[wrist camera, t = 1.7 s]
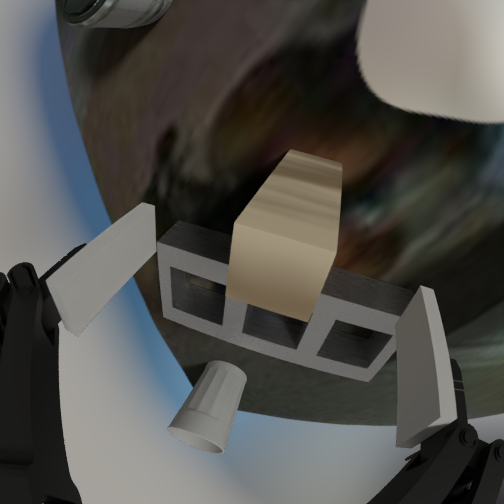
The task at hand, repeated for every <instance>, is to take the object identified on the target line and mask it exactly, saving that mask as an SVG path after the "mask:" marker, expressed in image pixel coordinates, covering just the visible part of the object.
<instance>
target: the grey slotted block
mask: <svg viewBox="0 0 504 504" xmlns="http://www.w3.org/2000/svg"><path fill="white" fill-rule="evenodd" d="M232 237H233V236H232V235H228V234H225V233H222V232H218V231H215V230H211V229H208V228H204V227H201V226H198V225H194V224H191V223H187V222H184V221H180V220H179V221H178V222H176V223H175V224H174V225H173V226H172V227H171V228H170V229H169V230H168V231H167V232H166V233H165V234H164V235H163V236H162V237H161V238H160V239H159V240H158V241H157V252H158V266H159V278H160V289H161V299H162V309H163V317H165V318H167V319H170V320H172V321H175V322H177V323H179V324H182V325H185V326H187V327H190V328H192V329H195V330H197V331H200V332H203V333H205V334H208V335H211V336H213V337H216V338H219V339H222V340H224V341H227V342H230V343H233V344H236V345H239V346H242V347H245V348H248V349H251V350H254V351H257V352H260V353H263V354H266V355H269V356H272V357H276V358H279V359H282V360H285V361H289V362H292V363H296V364H299V365H303V366H306V367H310V368H313V369H317V370H321V371H324V372H328V373H332V374H336V375H340V376H344V377H348V378H352V379H357V380H361V381H365V382H369V381H370V380H371V379H372V378H373V376H374V375H375V374H376V373H377V372H378V371H379V370H380V368H381V367H382V366H383V365H384V364H385V363H386V361H387V360H388V359H389V358H390V357H391V355H392V354H393V353H394V352H395V351H396V333H395V324H396V323H397V322H398V320H399V319H400V317H401V316H402V314H403V312H404V311H405V309H406V308H407V306H408V305H409V303H410V302H411V300H412V298H413V297H414V296H413V291H412V290H409V289H406V288H403V287H400V286H396V285H393V284H390V283H387V282H384V281H380V280H377V279H374V278H371V277H367V276H364V275H361V274H358V273H354V272H351V271H348V270H345V269H341V268H338V267H335V266H331V268H330V271H329V273H328V276H327V278H326V281H325V283H324V286H323V288H322V291H321V293H320V295H319V298H318V300H317V303H316V305H315V307H314V310H313V312H312V314H311V317H310V319H309V321H308V322H305V321H302V320H298V319H295V318H292V317H288V316H285V315H282V314H279V313H276V312H272V311H269V310H266V309H263V308H260V307H257V306H254V305H250V304H247V303H244V302H241V301H238V300H235V299H232V298H229V297H226V296H225V295H222V294H219V293H216V292H213V291H210V290H207V289H204V288H202V287H199V286H196V285H193V284H190V283H189V273H191V274H194V275H197V276H200V277H203V278H206V279H208V280H211V281H214V282H217V283H220V284H223V285H227V277H228V269H229V261H230V253H231V245H232ZM335 320H339V321H343V322H346V323H350V324H354V325H357V326H361V327H364V328H368V329H372V330H374V332H373V333H372V334H371V336H370V337H369V339H367V338H363V337H359V336H356V335H352V334H348V333H345V332H341V331H338V330H334V329H331V328H332V326H333V324H334V322H335Z"/></svg>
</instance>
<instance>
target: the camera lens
mask: <svg viewBox="0 0 504 504" xmlns="http://www.w3.org/2000/svg"><path fill="white" fill-rule="evenodd" d="M172 1H173V0H60V9H61V14H62V16H63V18H64V20H65V21H66V22H67V23H68V24H69V25H71V26H73V27H108V28H132V27H140V26H144V25H148V24H151V23H152V22H155V21H156V20H158V19H159V18H160V17H162V15H163V14H165V12H166V11H167V10H168V8H169V7H170V6H171V3H172Z"/></svg>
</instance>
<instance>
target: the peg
mask: <svg viewBox="0 0 504 504" xmlns="http://www.w3.org/2000/svg"><path fill="white" fill-rule="evenodd" d="M341 187H342V163H339V162H335V161H332V160H328V159H325V158H321V157H318V156H314V155H311V154H307V153H303V152H299V151H295V150H292V149H290V150H289V152H288V153H287V154H286V155H285V157H284V158H283V159H282V160H281V162H280V163H279V164H278V166H277V167H276V168H275V170H274V171H273V172H272V173H271V175H270V176H269V177H268V179H267V180H266V181H265V183H264V184H263V185H262V186H261V188H260V189H259V190H258V192H257V193H256V194H255V196H254V197H253V198H252V200H251V201H250V202H249V204H248V205H247V206H246V208H245V209H244V210H243V212H242V213H241V214H240V216H239V217H238V218H237V220H236V221H235V222H234V229H233V237H232V245H231V253H230V261H229V269H228V277H227V285H226V294H225V296H226V297H229V298H232V299H235V300H238V301H241V302H244V303H247V304H250V305H254V306H257V307H260V308H263V309H266V310H269V311H272V312H276V313H279V314H282V315H285V316H288V317H292V318H295V319H298V320H302V321H305V322H308V321H309V319H310V317H311V314H312V312H313V310H314V307H315V305H316V303H317V300H318V298H319V295H320V293H321V291H322V288H323V286H324V283H325V281H326V278H327V276H328V273H329V271H330V268H331V266H332V263H333V261H334V258H335V255H336V253H337V242H338V231H339V218H340V204H341Z"/></svg>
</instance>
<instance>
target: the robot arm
mask: <svg viewBox="0 0 504 504" xmlns="http://www.w3.org/2000/svg"><path fill="white" fill-rule="evenodd" d="M155 252H156V231H155V206H154V205H150V204H146V203H143V202H142V203H141V204H140V205H138V206H137V207H135V208H134V209H133V210H131V211H130V212H129V213H127V214H126V215H125V216H123V217H122V218H121V219H119V220H118V221H117V222H115V223H114V224H113V225H111V226H110V227H109V228H108V229H106V230H105V231H104V232H102V233H101V234H100V235H98V236H97V237H96V238H95V239H93V240H92V241H91V242H90V243H89V244H85V243H84V244H82V245H80V246H78V247H76V248H74V249H73V250H72V251H70V252H69V253H68V254H67V256H65V257H63V258H62V259H61V261H58V262H57V263H56V264H55V265H54V266H53V267H51V268H50V269H49V270H48V271H47V272H46V273H45V274H44V275H42V276H41V277H40V278H39V279H38V277H37V274H36V271H35V269H34V266H33V265H32V264H31V263H28V262H23V263H19V264H17V265H15V266H14V267H12V268H11V269H10V270H9V272H8V274H7V276H8V279H9V281H10V283H9V282H8V280H7V278H6V276H5V274H4V273H1V272H0V504H82V501H81V497H80V494H79V491H78V489H77V487H76V486H75V484H74V483H73V481H72V479H71V476H70V473H69V468H68V462H67V457H66V451H65V445H64V437H63V429H62V420H61V409H60V395H59V370H58V369H59V365H58V364H59V363H58V361H59V359H58V358H59V355H58V354H59V352H58V351H59V327H58V323H59V322H60V321H61V320H62V322H63V324H64V326H65V328H66V329H67V330H68V331H70V332H71V333H73V334H74V335H76V336H79V335H80V334H81V332H82V331H83V330H84V329H85V328H86V327H87V326H88V324H89V323H90V322H91V321H92V320H93V319H94V317H95V316H96V315H97V314H98V313H99V312H100V311H101V310H102V308H103V307H104V306H105V305H106V304H107V303H108V302H109V301H110V300H111V298H112V297H113V296H114V295H115V294H116V293H117V292H118V291H119V290H120V289H121V288H122V287H123V285H124V284H125V283H126V282H127V281H128V280H129V279H130V278H131V277H132V276H133V275H134V274H135V273H136V272H137V271H138V270H139V269H140V267H141V266H142V265H143V264H144V263H145V262H146V261H147V260H148V259H149V258H150V257H151V256H152V255H153V254H154V253H155ZM395 333H396V349H397V376H398V408H397V435H396V447H402V448H413V447H414V446H416V445H418V444H420V443H421V449H420V450H419V451H418V452H416V453H414V454H412V455H410V456H409V457H407V458H406V459H405V460H406V461H407V460H409V459H411V460H410V461H409V462H408V463H407V464H406V465H405V466H404V467H403V468H402V470H401V471H400V472H399V473H398V474H397V475H396V476H395V477H394V478H393V479H392V480H391V481H390V482H389V483H388V484H387V485H386V486H385V487H384V488H383V489H382V490H381V491H380V492H379V493H378V494H377V495H376V496H375V497H374V498H373V499H372V500H371V501H369V502H368V503H367V504H495V503H496V500H497V497H498V494H499V491H500V488H501V485H502V482H503V478H504V441H503V440H501V439H498V440H495V441H494V442H492V443H490V444H488V443H486V442H484V441H482V440H480V439H478V435H477V431H476V430H475V429H474V427H473V426H471V425H470V424H468V421H467V411H466V403H465V395H464V392H463V390H464V388H463V383H462V375H461V370H460V368H459V366H458V364H457V362H456V360H454V359H450V358H449V353H448V348H447V343H446V338H445V334H444V329H443V325H442V320H441V316H440V312H439V308H438V305H437V301H436V297H435V293H434V290H433V289H430V288H427V287H424V286H421V285H420V287H419V289H418V290H417V292H416V294H415V295H414V297H413V298H412V300H411V302H410V303H409V305H408V306H407V308H406V309H405V311H404V312H403V314H402V316H401V317H400V319H399V320H398V322H397V323H396V324H395ZM470 483H472V484H471V487H470V489H469V486H470ZM42 502H43V503H42Z"/></svg>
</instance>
